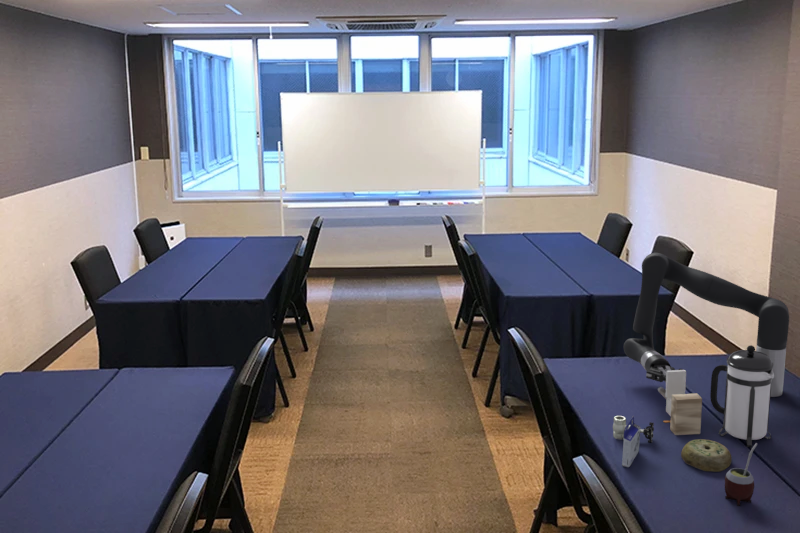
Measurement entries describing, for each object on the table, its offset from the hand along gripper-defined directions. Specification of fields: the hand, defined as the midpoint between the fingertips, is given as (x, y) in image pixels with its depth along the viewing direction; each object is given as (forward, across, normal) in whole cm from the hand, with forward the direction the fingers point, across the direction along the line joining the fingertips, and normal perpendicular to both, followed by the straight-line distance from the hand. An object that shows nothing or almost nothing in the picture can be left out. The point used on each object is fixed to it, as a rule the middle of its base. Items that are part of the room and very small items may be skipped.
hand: (674, 383), depth 238 cm
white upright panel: (+2, 0, +10) cm, 10 cm away
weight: (+28, -2, +13) cm, 31 cm away
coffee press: (+14, +16, +13) cm, 25 cm away
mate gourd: (+49, -2, +13) cm, 51 cm away
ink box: (+24, -22, +13) cm, 36 cm away
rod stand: (0, 0, +12) cm, 13 cm away
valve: (+12, -18, +13) cm, 25 cm away
